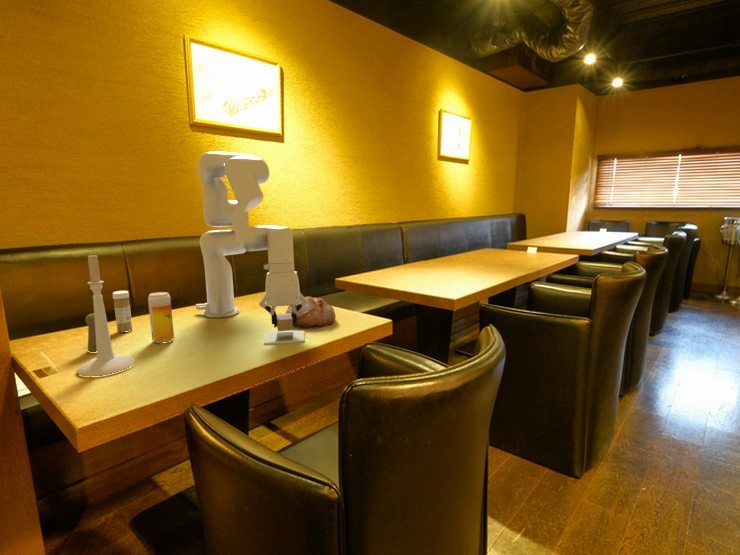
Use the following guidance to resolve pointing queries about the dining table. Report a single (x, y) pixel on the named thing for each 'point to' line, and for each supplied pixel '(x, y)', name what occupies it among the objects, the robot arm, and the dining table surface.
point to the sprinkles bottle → (122, 311)
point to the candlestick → (102, 333)
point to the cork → (91, 332)
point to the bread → (314, 313)
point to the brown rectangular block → (284, 322)
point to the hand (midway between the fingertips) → (284, 325)
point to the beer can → (161, 317)
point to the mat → (284, 337)
